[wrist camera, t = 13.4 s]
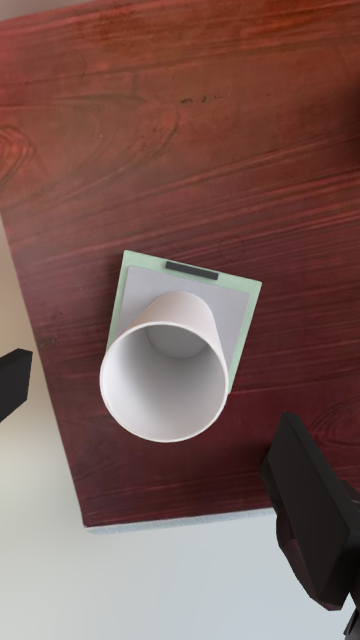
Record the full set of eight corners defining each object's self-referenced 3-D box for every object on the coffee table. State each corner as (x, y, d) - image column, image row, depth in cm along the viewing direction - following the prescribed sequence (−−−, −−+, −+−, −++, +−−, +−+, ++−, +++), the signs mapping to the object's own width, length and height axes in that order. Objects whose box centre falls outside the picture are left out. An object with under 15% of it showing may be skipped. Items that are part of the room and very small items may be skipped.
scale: (109, 357, 39) (101, 365, 36) (129, 250, 36) (122, 249, 33) (227, 385, 38) (230, 396, 35) (257, 280, 35) (263, 283, 32)
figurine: (319, 480, 41) (389, 606, 26) (272, 498, 42) (314, 629, 27) (291, 422, 39) (347, 522, 24) (243, 442, 40) (269, 550, 25)
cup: (140, 293, 33) (90, 324, 18) (212, 288, 33) (226, 316, 17) (147, 361, 35) (107, 444, 20) (216, 358, 35) (231, 441, 19)
